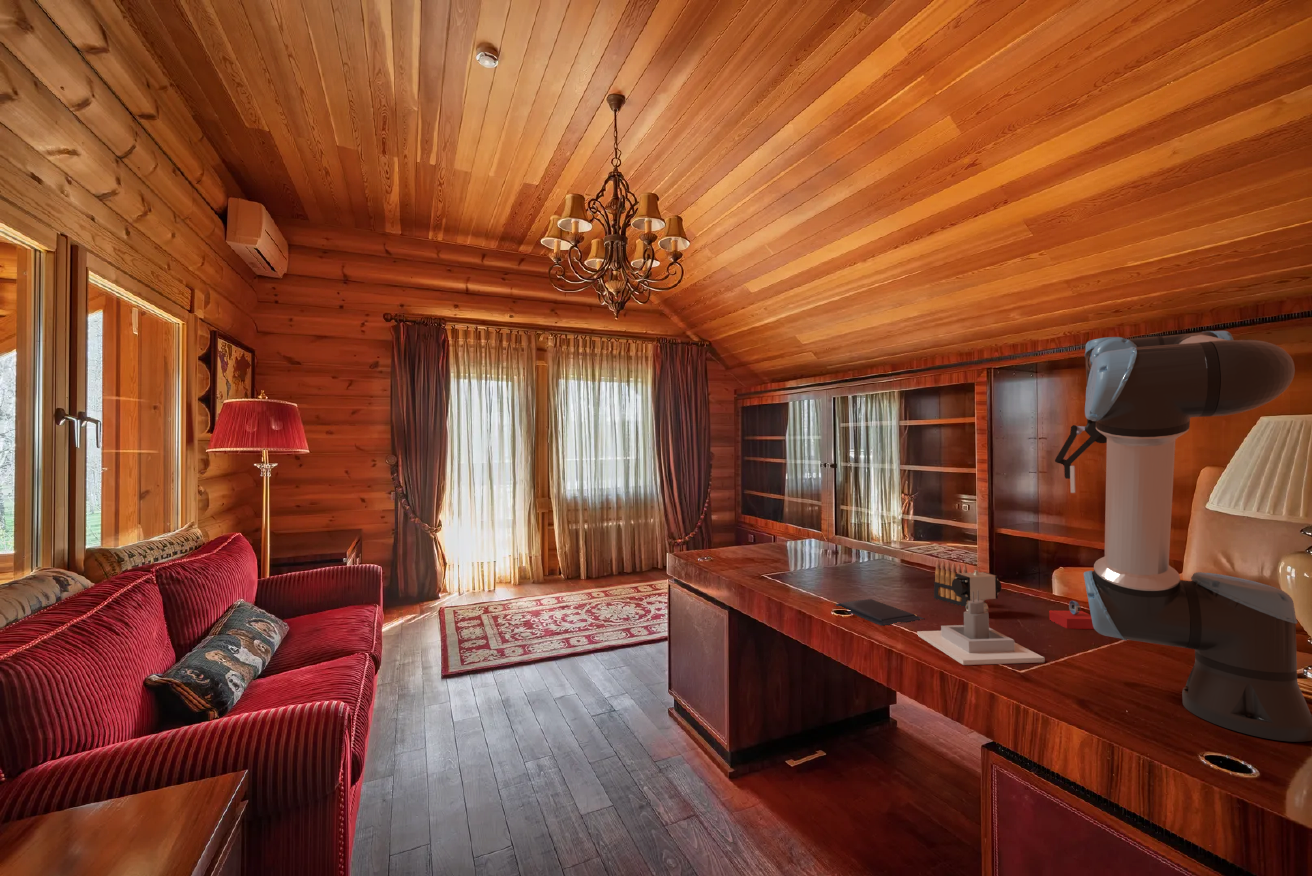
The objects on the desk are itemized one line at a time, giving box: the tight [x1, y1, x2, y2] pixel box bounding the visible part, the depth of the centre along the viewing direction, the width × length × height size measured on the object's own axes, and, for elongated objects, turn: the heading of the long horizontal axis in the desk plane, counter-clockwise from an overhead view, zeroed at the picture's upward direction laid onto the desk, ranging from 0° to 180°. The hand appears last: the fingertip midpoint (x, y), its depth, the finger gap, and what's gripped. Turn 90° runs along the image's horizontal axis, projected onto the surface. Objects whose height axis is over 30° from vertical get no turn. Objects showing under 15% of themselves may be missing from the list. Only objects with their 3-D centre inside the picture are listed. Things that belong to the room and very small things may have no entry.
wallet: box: [835, 598, 925, 627], centre depth 150 cm, size 20×2×15 cm
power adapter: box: [963, 591, 990, 639], centre depth 123 cm, size 3×5×12 cm, turn 117°
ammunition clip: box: [933, 558, 971, 608], centre depth 159 cm, size 11×2×12 cm, turn 24°
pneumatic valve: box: [952, 569, 1002, 612], centre depth 148 cm, size 6×12×12 cm, turn 98°
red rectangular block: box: [1049, 600, 1095, 630], centre depth 138 cm, size 8×7×6 cm
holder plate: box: [916, 624, 1046, 666], centre depth 123 cm, size 18×18×4 cm
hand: (1109, 493), depth 126 cm, fingers open, 13 cm apart
